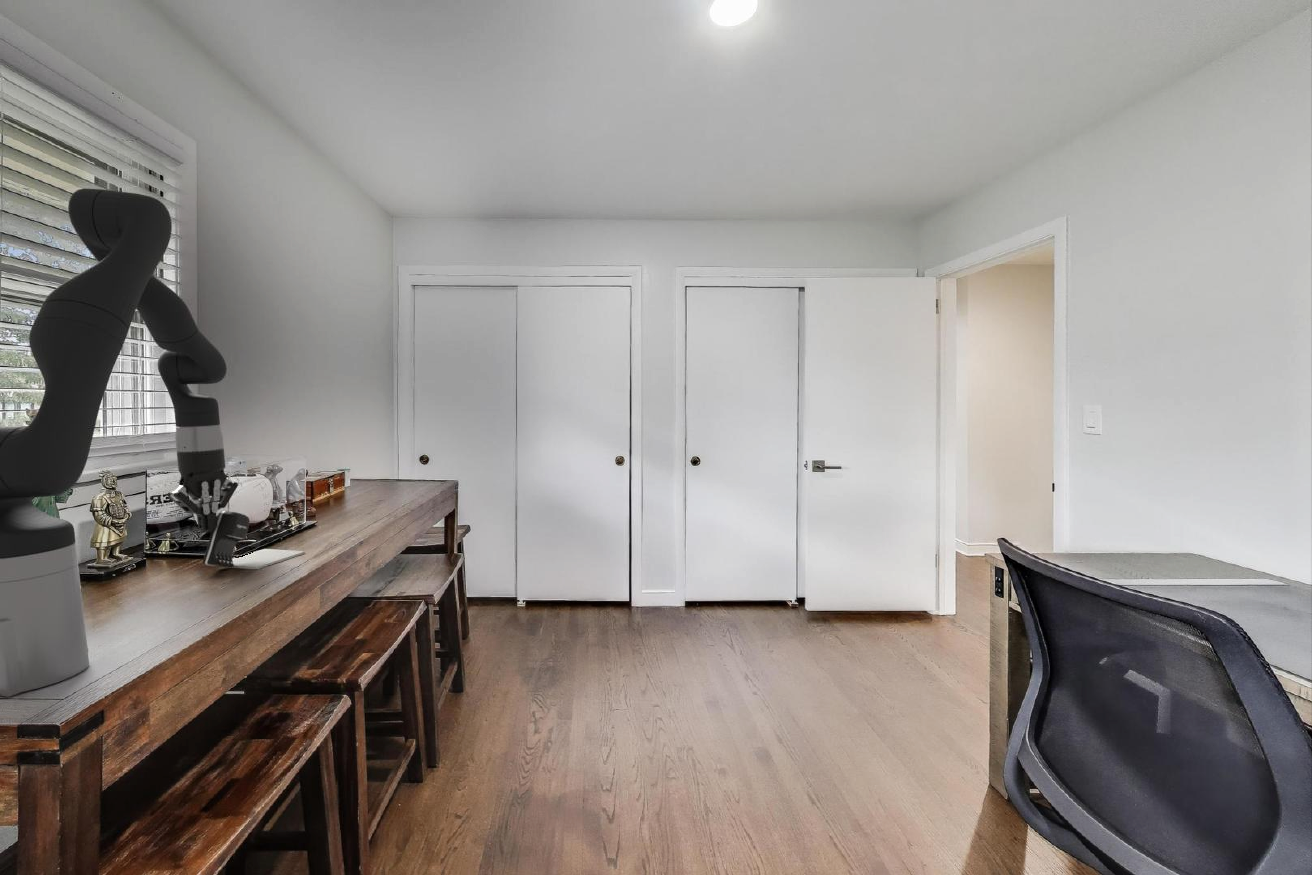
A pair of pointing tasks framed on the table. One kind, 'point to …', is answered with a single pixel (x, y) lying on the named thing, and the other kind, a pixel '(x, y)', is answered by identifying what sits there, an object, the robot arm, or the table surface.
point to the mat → (264, 558)
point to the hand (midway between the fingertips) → (208, 531)
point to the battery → (225, 538)
